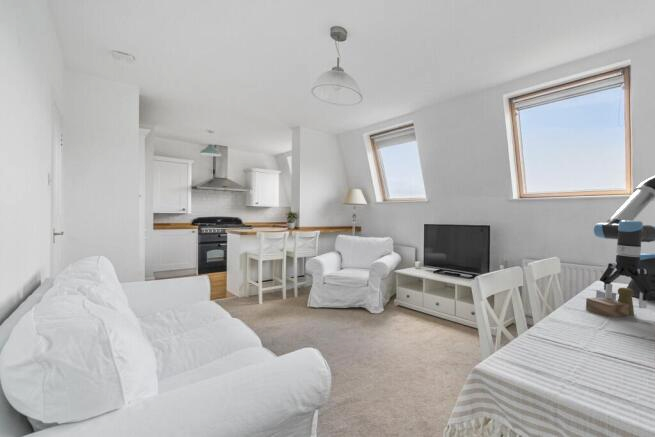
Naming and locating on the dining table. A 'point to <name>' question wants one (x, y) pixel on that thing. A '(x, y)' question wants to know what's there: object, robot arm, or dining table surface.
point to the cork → (626, 298)
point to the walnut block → (607, 307)
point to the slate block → (602, 294)
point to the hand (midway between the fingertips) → (624, 302)
